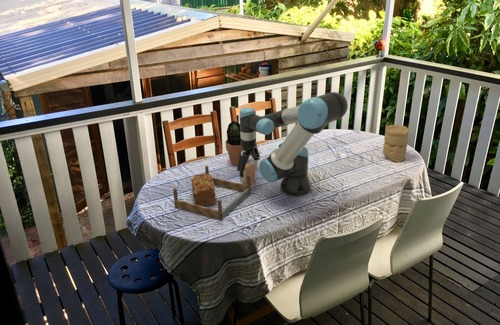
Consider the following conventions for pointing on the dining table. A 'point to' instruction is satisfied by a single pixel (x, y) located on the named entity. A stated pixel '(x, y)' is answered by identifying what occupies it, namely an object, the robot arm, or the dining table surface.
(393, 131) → the container
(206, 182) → the bread
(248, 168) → the tan rectangular block
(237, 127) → the potted plant
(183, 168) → the dining table surface
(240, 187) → the bay
